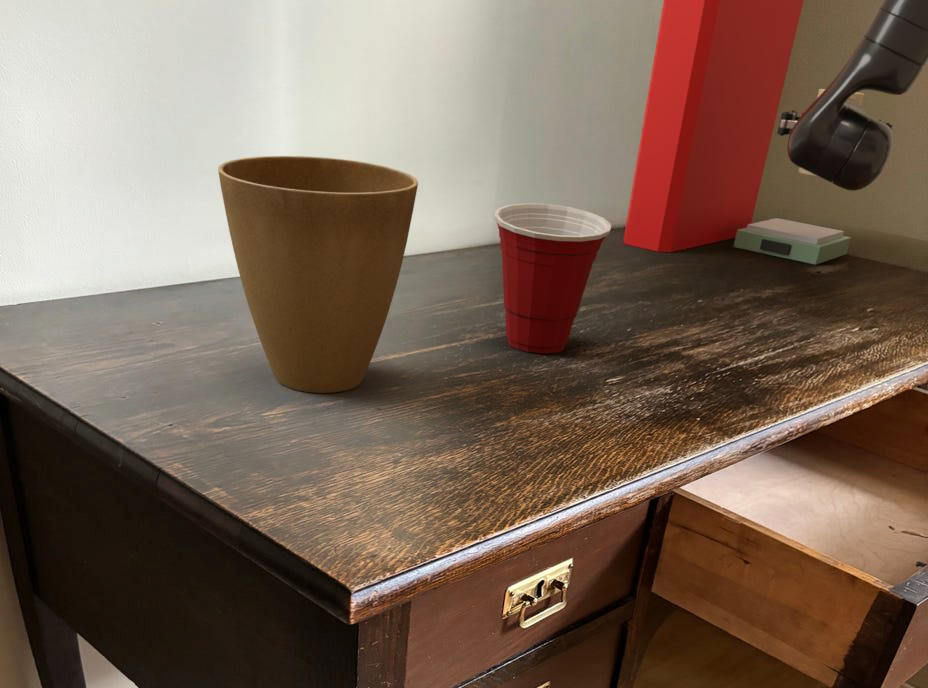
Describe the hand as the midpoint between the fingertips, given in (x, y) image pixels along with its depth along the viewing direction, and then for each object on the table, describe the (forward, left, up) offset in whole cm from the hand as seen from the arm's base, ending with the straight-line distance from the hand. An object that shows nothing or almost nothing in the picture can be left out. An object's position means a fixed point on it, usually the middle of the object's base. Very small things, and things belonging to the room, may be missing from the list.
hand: (831, 124), depth 131 cm
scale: (+4, -7, -18) cm, 19 cm away
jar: (-1, +2, -6) cm, 6 cm away
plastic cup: (0, +68, -18) cm, 71 cm away
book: (+17, +1, -18) cm, 25 cm away
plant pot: (+6, +92, -18) cm, 94 cm away
